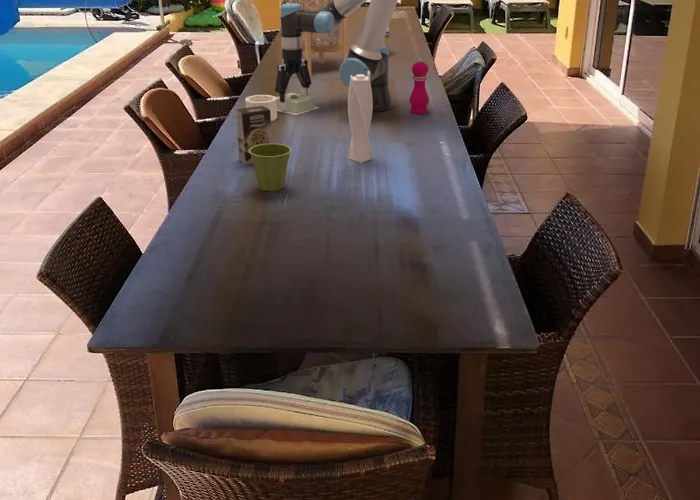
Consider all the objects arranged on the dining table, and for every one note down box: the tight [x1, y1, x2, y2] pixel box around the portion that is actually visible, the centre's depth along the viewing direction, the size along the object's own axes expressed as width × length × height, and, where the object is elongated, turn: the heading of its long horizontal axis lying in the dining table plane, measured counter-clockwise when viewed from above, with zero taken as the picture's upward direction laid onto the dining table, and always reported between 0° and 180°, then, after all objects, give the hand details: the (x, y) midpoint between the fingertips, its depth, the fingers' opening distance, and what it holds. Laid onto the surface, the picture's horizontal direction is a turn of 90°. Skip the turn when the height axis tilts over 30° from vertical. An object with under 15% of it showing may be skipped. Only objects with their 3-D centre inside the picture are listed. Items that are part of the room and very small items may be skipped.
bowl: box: [244, 94, 278, 122], centre depth 284 cm, size 11×11×8 cm
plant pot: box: [249, 142, 292, 192], centre depth 221 cm, size 12×12×11 cm
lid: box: [275, 92, 316, 115], centre depth 297 cm, size 12×10×5 cm
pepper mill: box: [408, 57, 430, 115], centre depth 289 cm, size 7×7×20 cm
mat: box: [277, 106, 320, 116], centre depth 298 cm, size 14×13×1 cm
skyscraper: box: [344, 71, 377, 164], centre depth 239 cm, size 8×8×28 cm
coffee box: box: [235, 106, 273, 165], centre depth 242 cm, size 9×6×16 cm
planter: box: [280, 0, 349, 78], centre depth 352 cm, size 22×23×32 cm
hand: (294, 107), depth 298 cm, fingers closed on lid, 10 cm apart
